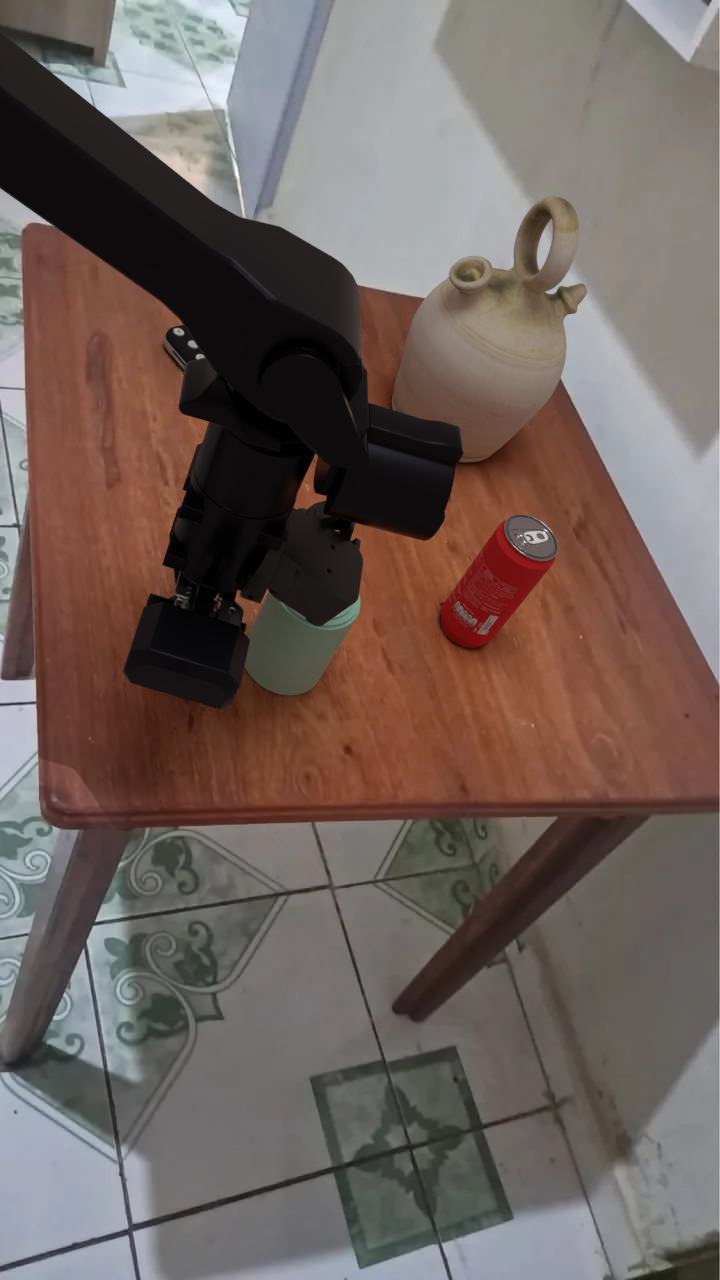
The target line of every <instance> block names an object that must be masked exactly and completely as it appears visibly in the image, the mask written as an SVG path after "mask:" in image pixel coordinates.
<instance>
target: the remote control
mask: <svg viewBox="0 0 720 1280" xmlns="http://www.w3.org/2000/svg"><path fill="white" fill-rule="evenodd" d="M163 341H164V342H163V344H164V347H165V350H167V352H168V353H169V354H170V355H171V357H172V358H173V359H174V360H175V361H176V363H177V364H178V365H179V367H181V368H182V370H184V369H185V365H186V363H188V362H189V361H194V360H197V359H201V358H205V357H204V356H203V354H202V352H201V351H200V349H199V348H198V346H197V345H196V343H195V342H194V340H193V339H192V337H191V336H190V334H189V333H188V331H187V329H186V328H185V326H184V325H183V324H180V325H175V326H172V327H170V328H169V329H167V330H166V333H165V336H164V340H163Z"/></svg>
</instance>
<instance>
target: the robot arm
mask: <svg viewBox="0 0 720 1280" xmlns="http://www.w3.org/2000/svg"><path fill="white" fill-rule="evenodd" d="M0 190H1V191H3V192H4V193H6V194H7V195H8V196H10V197H11V198H13V199H14V200H16V201H17V202H18V203H20V204H22V205H23V206H24V207H26V208H27V209H29V210H30V211H31V212H33V213H34V214H36V215H37V216H39V217H40V218H41V219H43V220H44V221H46V222H47V223H49V224H50V225H51V226H52V227H54V228H56V229H57V230H58V231H60V232H61V233H63V234H64V235H65V236H67V237H68V238H69V239H71V240H73V241H74V242H75V243H77V244H78V245H80V246H81V247H82V248H84V249H85V250H87V251H88V252H89V253H91V254H92V255H94V256H95V257H96V258H98V259H99V260H101V261H102V262H104V263H105V264H106V265H108V266H109V267H111V268H112V269H114V270H115V271H116V272H118V273H120V274H121V275H122V276H124V278H126V279H128V280H129V281H131V282H132V283H134V284H135V285H136V286H137V287H139V288H141V289H142V290H143V291H145V292H146V293H148V294H149V295H151V296H152V297H153V298H154V299H156V300H158V301H159V302H160V303H161V304H162V305H163V306H165V307H166V308H167V310H169V311H170V312H171V313H172V314H173V315H174V316H175V317H176V318H177V319H178V320H179V321H180V322H181V324H182V325H184V326H185V328H186V329H187V331H188V333H189V334H190V336H191V337H192V339H193V340H194V342H195V343H196V345H197V346H198V348H199V349H200V351H201V352H202V354H203V356H204V357H205V358H201V359H197V360H194V361H189V362H188V363H186V365H185V369H183V376H182V382H181V389H180V395H179V401H178V410H179V413H181V414H182V415H184V416H188V417H191V418H194V419H198V420H201V421H204V422H208V423H207V426H206V430H205V432H204V436H203V438H202V439H203V440H202V442H201V443H198V444H196V447H195V450H194V453H193V456H192V459H191V463H190V464H189V465H190V466H189V468H188V472H187V474H186V477H185V480H184V483H183V487H182V491H185V494H184V497H183V499H182V502H181V505H180V506H179V507H178V508H177V509H176V512H175V515H174V518H173V522H172V524H171V528H170V531H169V535H168V537H169V542H168V545H167V548H166V552H165V554H164V558H163V561H162V564H161V565H162V566H163V567H167V568H170V569H173V576H174V583H175V584H174V585H175V587H174V590H173V593H172V596H174V597H175V598H176V600H175V601H174V600H171V599H169V597H168V598H167V597H164V596H161V595H158V594H155V593H151V592H150V593H149V595H148V598H147V601H146V604H145V606H143V609H142V611H141V615H140V618H139V621H138V623H137V627H136V630H135V633H134V636H133V639H132V642H131V645H130V649H129V651H128V654H127V657H126V661H125V663H124V667H123V670H122V673H123V674H124V676H125V677H126V679H127V681H128V682H129V683H130V684H132V685H136V686H139V687H143V688H146V689H149V690H153V691H157V692H160V693H163V694H166V695H170V696H174V697H177V698H179V699H183V700H185V701H190V702H194V703H197V704H200V705H204V706H207V707H210V708H213V709H216V710H222V709H224V708H226V707H228V706H231V705H232V703H233V701H234V699H235V697H236V695H237V693H238V691H239V690H240V687H241V682H242V679H243V674H244V669H245V661H246V657H247V652H248V648H249V643H250V639H249V638H248V637H247V636H248V635H247V634H246V631H247V625H248V624H247V623H245V622H243V618H244V613H245V612H244V609H243V606H241V605H240V604H239V603H238V602H237V601H236V598H237V594H238V591H239V592H240V594H239V596H240V598H242V599H244V600H247V601H250V602H254V603H257V604H261V603H262V601H263V599H264V598H265V596H266V594H267V592H268V591H269V592H270V593H271V595H272V596H273V597H275V598H276V599H277V600H279V601H281V602H282V603H284V604H285V605H287V606H288V607H290V608H292V609H293V610H295V611H296V612H298V613H299V614H301V615H303V616H304V617H305V618H306V621H308V622H309V623H311V624H313V625H315V626H322V625H324V624H325V623H327V622H328V621H330V620H331V619H333V618H334V617H335V616H337V615H338V614H340V613H341V612H342V611H344V610H345V609H347V608H348V607H350V606H351V605H352V604H354V603H355V602H356V601H357V600H358V597H359V595H360V590H361V582H362V576H363V575H362V574H363V566H364V558H363V555H362V552H361V543H362V541H361V540H360V539H359V538H358V537H355V538H354V539H352V537H353V533H354V531H355V526H356V524H358V525H361V526H366V527H368V528H373V529H376V530H381V531H384V532H388V533H392V534H396V535H400V536H404V537H406V538H407V537H408V538H412V539H415V540H419V541H423V542H426V541H429V540H431V539H432V538H433V537H434V536H435V535H436V534H437V533H438V531H439V530H440V529H441V528H442V525H443V523H444V522H445V519H446V509H447V507H448V503H449V500H450V497H451V495H452V490H453V486H454V482H455V476H456V467H457V465H458V464H459V463H460V462H459V461H460V459H461V457H462V456H463V454H464V451H463V443H462V435H461V429H460V427H458V426H455V425H452V424H449V423H445V422H441V421H435V420H426V419H421V418H418V417H415V416H411V415H408V414H405V413H401V412H398V411H395V410H393V409H392V408H389V407H385V406H382V405H379V404H374V403H371V402H369V383H368V379H369V378H368V370H367V369H366V366H365V362H364V360H363V354H362V317H361V315H362V314H361V313H362V312H361V295H360V291H359V285H358V282H356V279H355V277H354V275H353V274H352V273H351V271H350V270H349V269H348V268H347V267H346V266H345V264H344V263H342V262H341V261H340V260H338V259H336V258H335V257H333V256H332V255H330V254H329V253H327V252H325V251H323V250H321V248H319V247H317V246H315V245H313V244H311V243H310V242H308V241H306V240H305V239H303V238H301V237H299V236H297V235H296V234H294V233H292V232H291V231H289V230H287V229H285V228H284V227H283V226H279V225H275V224H272V223H267V222H262V221H259V220H254V219H250V218H245V217H241V216H239V215H237V214H235V213H233V212H231V211H230V210H228V209H226V208H224V207H223V206H221V205H220V204H217V203H216V202H214V201H213V200H212V199H210V197H208V196H206V195H205V194H204V193H203V192H202V191H201V190H199V189H198V188H197V187H196V186H194V185H193V184H192V183H190V182H189V181H188V180H187V179H185V178H184V177H183V176H182V175H181V174H179V173H178V172H176V170H174V169H173V168H171V167H170V166H169V165H168V164H167V163H165V162H164V161H163V160H161V158H160V157H158V156H157V155H156V154H154V153H153V152H152V151H151V150H149V149H148V148H146V146H144V145H143V144H142V143H140V142H139V141H138V140H137V139H135V138H134V137H133V136H132V135H131V134H129V132H127V131H126V130H124V129H123V128H121V127H120V125H118V124H117V123H115V122H114V121H113V120H112V119H110V118H109V117H108V116H107V115H105V114H104V113H103V112H102V111H100V110H99V109H98V108H97V107H95V106H94V105H93V104H91V103H90V102H89V101H88V100H87V99H86V98H84V97H83V96H82V95H80V94H79V93H78V92H77V91H76V90H74V89H73V88H72V87H70V85H68V84H67V83H65V82H64V81H63V80H62V79H60V77H58V76H57V75H55V74H54V73H53V72H52V71H50V70H49V69H48V68H47V67H45V66H44V65H43V63H41V62H40V61H38V60H37V59H35V57H33V56H32V55H30V54H29V53H28V52H27V51H26V50H25V49H23V48H22V47H21V46H19V45H18V44H17V43H15V41H14V40H12V39H10V38H9V37H8V36H7V35H6V34H4V33H3V32H2V31H0ZM315 456H317V459H316V463H315V468H314V474H313V491H314V493H315V494H316V495H320V496H326V497H325V499H326V500H322V501H318V502H315V503H313V504H312V505H311V506H309V507H308V508H307V509H306V508H303V507H299V508H295V505H296V501H297V497H298V493H299V491H300V489H301V486H302V484H303V482H304V480H305V478H306V476H307V473H308V471H309V469H310V466H311V464H312V462H313V461H314V458H315ZM267 590H268V591H267ZM216 597H217V598H216ZM215 599H216V600H215ZM183 601H184V603H183Z"/></svg>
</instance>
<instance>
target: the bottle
mask: <svg viewBox="0 0 720 1280" xmlns="http://www.w3.org/2000/svg"><path fill="white" fill-rule="evenodd" d="M263 599H264V600H263V602H262V604H261V606H260V608H259V610H258V613H257V614H256V615H255V619H254V621H253V623H252V625H251V627H250V629H249V632H248V634H247V635H246V636H247V637H248V638H249V639H250V643H249V648H248V652H247V657H246V661H245V666H244V669H245V671H246V672H247V673H248V675H249V676H250V677H251V679H252V680H253V681H254V682H256V684H258V685H259V686H260V687H262V688H264V689H265V690H267V691H269V692H270V693H274V694H277V695H282V696H296V695H297V696H298V695H302V694H304V693H307V692H309V691H310V690H312V689H313V688H314V687H315V686H316V685H317V684H318V683H319V681H320V679H321V678H322V676H323V674H324V672H325V671H326V670H327V668H328V667H329V664H330V663H331V661H332V659H333V657H334V656H335V654H336V652H337V651H338V649H339V647H341V645H342V643H343V641H344V639H345V638H346V636H347V634H348V632H349V631H350V629H351V628H352V626H353V625H354V623H355V621H356V619H357V618H358V616H359V614H360V611H361V595H360V594H359V597H358V600H357V601H356V602H355V603H354V604H352V605H351V606H350V607H348V608H347V609H345V610H344V611H342V612H341V613H340V614H338V615H337V616H335V617H334V618H333V619H331V620H330V621H328V622H327V623H325V624H324V625H322V626H315V625H313V624H311V623H309V622H308V621H306V618H305V617H304V616H303V615H301V614H299V613H298V612H296V611H295V610H293V609H292V608H290V607H288V606H287V605H285V604H284V603H282V602H281V601H279V600H277V599H276V598H275V597H273V596H272V595H271V593H270V592H269V590H268V591H267V592H266V594H265V596H264V598H263Z"/></svg>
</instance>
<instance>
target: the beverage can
mask: <svg viewBox="0 0 720 1280" xmlns="http://www.w3.org/2000/svg"><path fill="white" fill-rule="evenodd" d="M558 551H559V543H558V539H557V538H556V535H555V534H554V532H553V531H552V530H551V528H549V526H547V524H545V523H544V522H543V521H541V520H539V519H538V518H536V517H535V516H533V515H528V514H524V513H516V514H515V513H514V514H512V515H510V516H508V517H507V518H506V519H504V520H503V521H501V522H500V523H499V524H498V525H497V527H496V528H495V530H494V531H493V532H492V534H491V536H490V537H489V538H488V540H487V541H486V542H485V544H484V545H483V547H482V548H481V550H480V551H479V552H478V554H477V556H476V557H475V558H474V560H473V561H472V563H471V564H470V565H469V567H468V568H467V569H466V571H465V572H464V574H463V576H462V577H461V578H460V580H459V581H458V582H457V584H456V586H455V587H454V588H453V590H452V591H451V592H450V594H449V595H448V597H447V598H446V600H445V601H444V602H443V604H442V607H441V616H440V625H441V628H442V629H441V630H442V631H443V633H444V634H445V635H446V637H447V638H448V639H449V640H450V641H451V642H453V643H455V644H456V645H458V646H460V647H463V648H467V649H476V648H479V647H481V646H482V645H486V644H488V643H490V642H491V641H492V640H494V639H495V637H496V636H497V634H498V633H499V632H500V631H501V630H502V629H503V627H504V626H505V624H507V622H508V621H509V620H510V618H511V617H512V616H513V615H514V613H515V612H516V611H517V610H518V609H519V607H520V606H521V605H522V604H523V602H524V601H525V599H526V598H527V597H528V596H529V595H530V593H532V591H533V590H534V589H535V587H536V586H537V585H538V583H540V581H541V580H542V579H543V577H544V576H545V575H546V574H547V572H548V571H549V570H550V568H551V567H552V566H553V565H554V563H555V560H556V557H557V554H558Z"/></svg>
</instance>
